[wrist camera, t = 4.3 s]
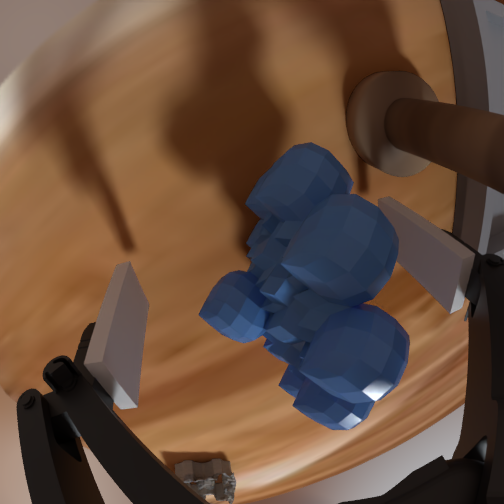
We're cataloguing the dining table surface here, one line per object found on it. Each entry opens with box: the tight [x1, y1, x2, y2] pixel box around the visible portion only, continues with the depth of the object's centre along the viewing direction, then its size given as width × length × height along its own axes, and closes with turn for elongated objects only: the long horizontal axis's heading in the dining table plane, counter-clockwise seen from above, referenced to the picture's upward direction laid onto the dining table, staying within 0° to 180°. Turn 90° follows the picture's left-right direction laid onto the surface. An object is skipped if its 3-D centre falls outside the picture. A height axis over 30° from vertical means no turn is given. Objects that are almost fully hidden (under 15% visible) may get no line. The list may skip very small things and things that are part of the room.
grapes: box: [199, 142, 410, 430], centre depth 12 cm, size 12×7×12 cm, turn 7°
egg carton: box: [175, 459, 236, 504], centre depth 30 cm, size 11×8×4 cm
